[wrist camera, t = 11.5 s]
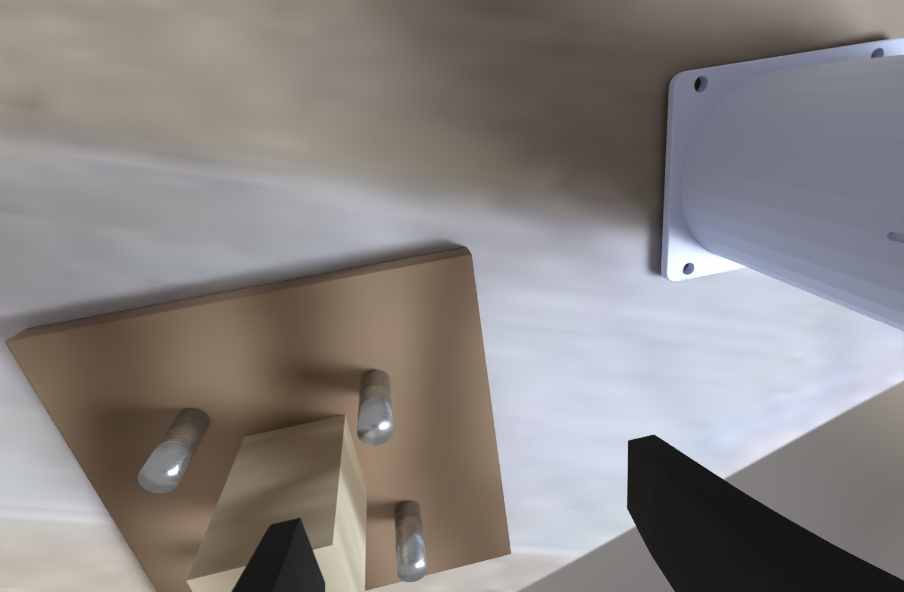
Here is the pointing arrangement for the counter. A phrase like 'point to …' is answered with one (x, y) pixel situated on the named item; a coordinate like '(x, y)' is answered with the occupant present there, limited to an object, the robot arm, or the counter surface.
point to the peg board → (287, 407)
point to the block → (290, 505)
